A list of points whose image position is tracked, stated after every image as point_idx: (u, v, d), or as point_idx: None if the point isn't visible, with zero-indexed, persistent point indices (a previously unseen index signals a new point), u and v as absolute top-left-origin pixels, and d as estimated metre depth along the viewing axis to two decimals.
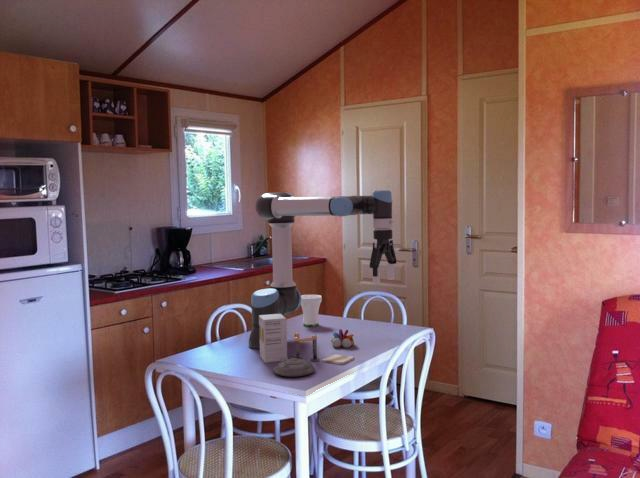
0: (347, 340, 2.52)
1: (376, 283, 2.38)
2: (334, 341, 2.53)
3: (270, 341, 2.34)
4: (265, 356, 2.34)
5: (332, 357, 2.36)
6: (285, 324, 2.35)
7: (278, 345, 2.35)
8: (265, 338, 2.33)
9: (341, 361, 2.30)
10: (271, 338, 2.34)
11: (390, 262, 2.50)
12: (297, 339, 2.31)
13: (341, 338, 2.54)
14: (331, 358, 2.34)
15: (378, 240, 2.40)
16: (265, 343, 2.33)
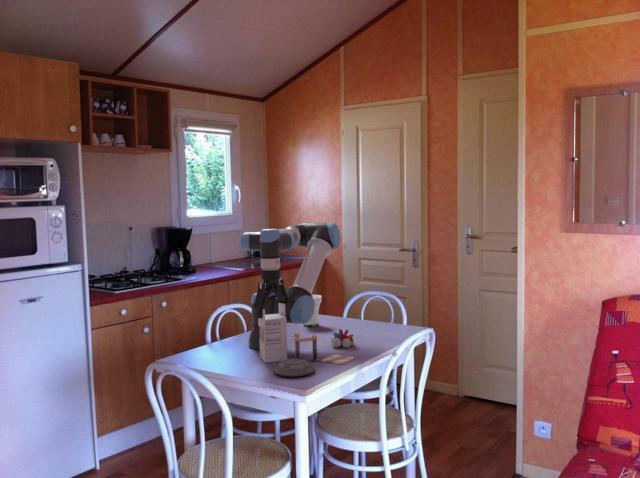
0: (347, 340, 2.52)
1: (261, 325, 2.32)
2: (334, 341, 2.53)
3: (270, 341, 2.34)
4: (265, 356, 2.34)
5: (332, 357, 2.36)
6: (285, 324, 2.35)
7: (278, 345, 2.35)
8: (265, 338, 2.33)
9: (341, 361, 2.30)
10: (271, 338, 2.34)
11: (281, 301, 2.44)
12: (297, 339, 2.31)
13: (341, 338, 2.54)
14: (331, 358, 2.34)
15: (264, 280, 2.34)
16: (265, 343, 2.33)
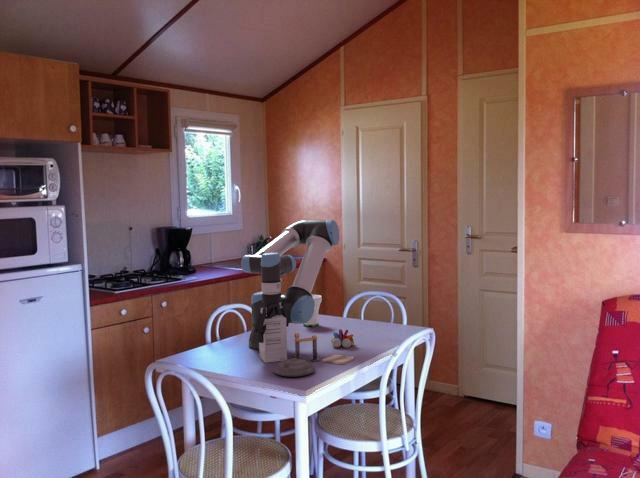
0: (347, 340, 2.52)
1: (262, 349, 2.33)
2: (334, 341, 2.53)
3: (270, 341, 2.34)
4: (265, 356, 2.34)
5: (332, 357, 2.36)
6: (285, 324, 2.35)
7: (278, 345, 2.35)
8: None
9: (341, 361, 2.30)
10: (270, 338, 2.34)
11: None
12: (297, 339, 2.31)
13: (341, 338, 2.54)
14: (331, 358, 2.34)
15: (265, 305, 2.35)
16: None
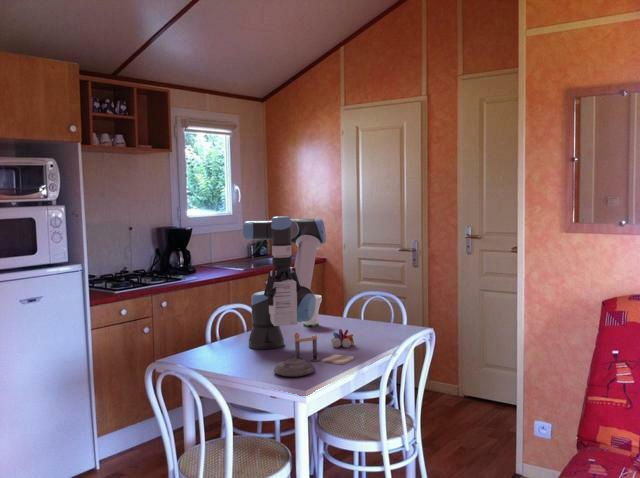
0: (347, 340, 2.52)
1: (272, 312, 2.32)
2: (334, 341, 2.53)
3: (280, 304, 2.32)
4: (274, 319, 2.32)
5: (332, 357, 2.36)
6: (295, 288, 2.33)
7: (288, 309, 2.33)
8: None
9: (341, 361, 2.30)
10: (280, 301, 2.32)
11: None
12: (297, 339, 2.31)
13: (341, 338, 2.54)
14: (331, 358, 2.34)
15: (275, 268, 2.33)
16: None
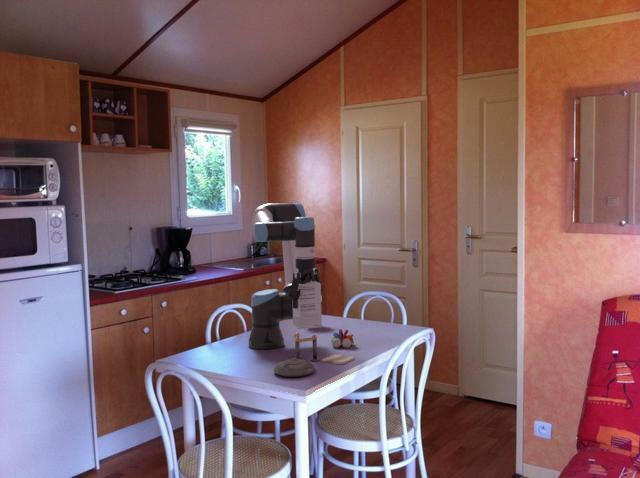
0: (347, 340, 2.52)
1: (297, 315, 2.27)
2: (334, 341, 2.53)
3: (304, 306, 2.27)
4: (299, 322, 2.28)
5: (332, 357, 2.36)
6: (319, 290, 2.29)
7: (313, 311, 2.28)
8: None
9: (341, 361, 2.30)
10: (305, 304, 2.27)
11: None
12: (297, 339, 2.31)
13: (341, 338, 2.54)
14: (331, 358, 2.34)
15: (299, 270, 2.28)
16: None
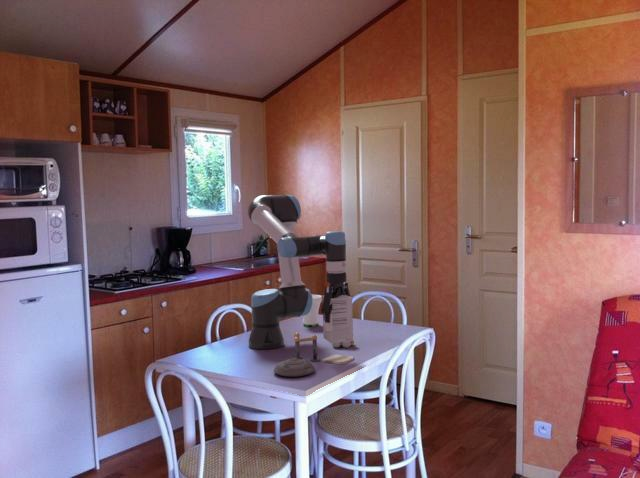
0: None
1: (329, 329, 2.27)
2: None
3: (336, 321, 2.28)
4: (331, 336, 2.28)
5: (332, 357, 2.36)
6: (351, 304, 2.30)
7: (344, 325, 2.29)
8: None
9: (341, 361, 2.30)
10: (337, 318, 2.28)
11: None
12: (297, 339, 2.31)
13: None
14: (331, 358, 2.34)
15: (331, 284, 2.29)
16: None
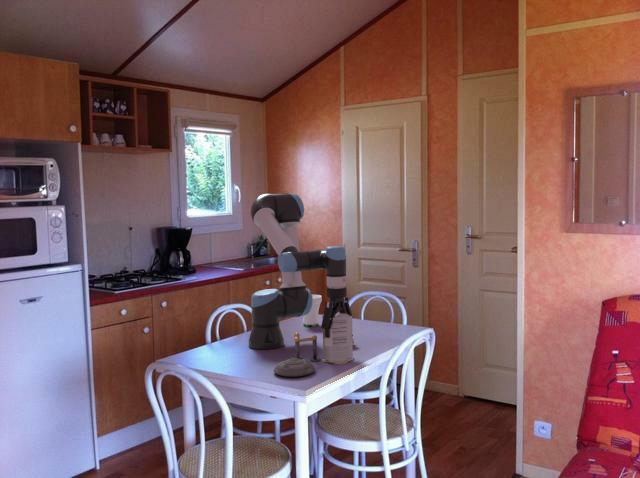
0: None
1: (329, 344, 2.28)
2: None
3: (336, 340, 2.29)
4: (331, 355, 2.29)
5: None
6: (351, 323, 2.30)
7: (344, 344, 2.30)
8: None
9: (341, 361, 2.30)
10: (337, 337, 2.29)
11: None
12: (297, 339, 2.31)
13: None
14: None
15: (331, 299, 2.30)
16: None
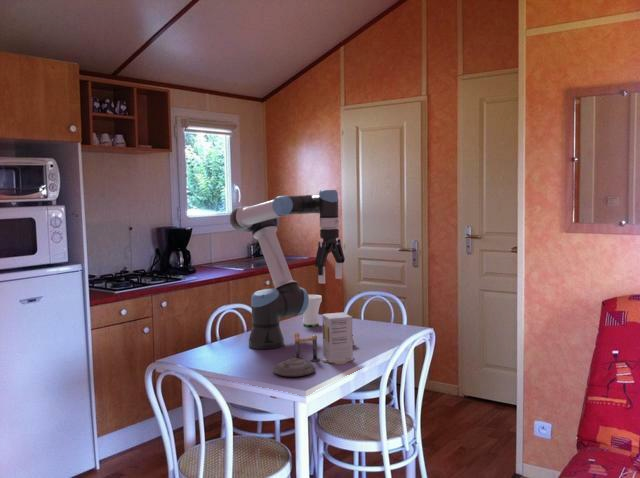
0: None
1: (322, 282, 2.40)
2: None
3: (336, 340, 2.29)
4: (331, 356, 2.29)
5: None
6: (351, 323, 2.30)
7: (344, 344, 2.30)
8: (331, 337, 2.28)
9: (341, 361, 2.30)
10: (337, 337, 2.29)
11: (338, 261, 2.52)
12: (297, 339, 2.31)
13: None
14: None
15: (324, 239, 2.42)
16: (331, 342, 2.29)
